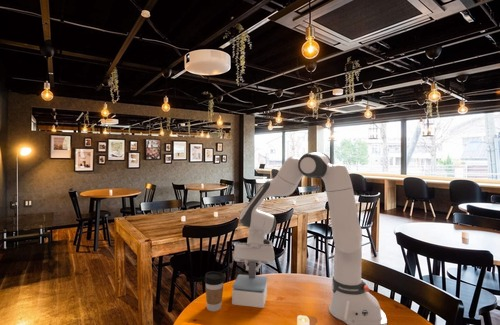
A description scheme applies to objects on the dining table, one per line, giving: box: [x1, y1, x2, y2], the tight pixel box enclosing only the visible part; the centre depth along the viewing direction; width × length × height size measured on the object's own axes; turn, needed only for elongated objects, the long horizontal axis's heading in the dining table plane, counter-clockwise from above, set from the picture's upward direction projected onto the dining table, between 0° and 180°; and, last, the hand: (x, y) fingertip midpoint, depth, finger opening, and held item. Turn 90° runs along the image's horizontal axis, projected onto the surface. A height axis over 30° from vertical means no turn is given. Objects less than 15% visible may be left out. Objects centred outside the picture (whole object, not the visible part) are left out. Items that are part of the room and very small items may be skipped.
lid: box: [232, 262, 268, 292], centre depth 123 cm, size 14×12×9 cm
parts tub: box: [231, 281, 268, 309], centre depth 123 cm, size 14×12×7 cm
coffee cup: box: [204, 271, 225, 312], centre depth 115 cm, size 8×8×15 cm
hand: (252, 270), depth 126 cm, fingers closed on lid, 3 cm apart
